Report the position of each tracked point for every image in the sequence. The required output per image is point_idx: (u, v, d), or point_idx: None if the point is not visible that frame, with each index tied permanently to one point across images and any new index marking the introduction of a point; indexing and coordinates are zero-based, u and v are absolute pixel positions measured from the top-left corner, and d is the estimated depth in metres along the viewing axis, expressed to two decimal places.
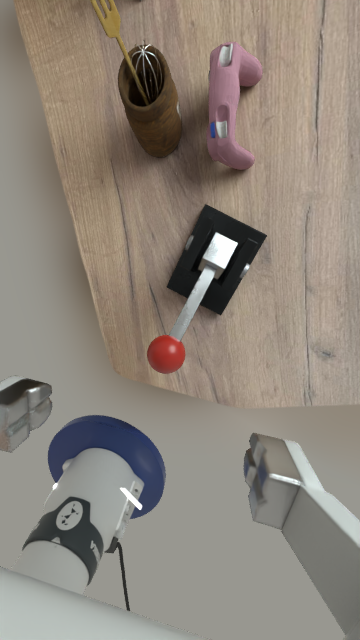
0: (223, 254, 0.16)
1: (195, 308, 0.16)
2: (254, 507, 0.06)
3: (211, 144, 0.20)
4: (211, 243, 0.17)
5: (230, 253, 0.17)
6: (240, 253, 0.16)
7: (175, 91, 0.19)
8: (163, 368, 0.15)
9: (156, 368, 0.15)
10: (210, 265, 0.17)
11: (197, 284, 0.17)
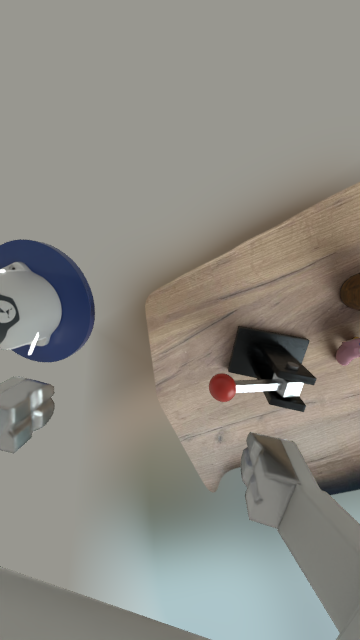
0: (291, 392, 0.25)
1: (255, 391, 0.24)
2: (250, 506, 0.06)
3: (354, 343, 0.29)
4: (297, 383, 0.25)
5: (292, 395, 0.25)
6: (295, 404, 0.25)
7: None
8: (218, 396, 0.21)
9: (216, 391, 0.21)
10: (282, 386, 0.25)
11: (269, 384, 0.24)
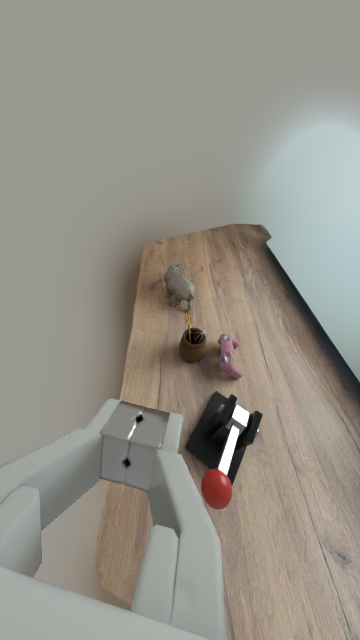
0: (243, 417, 0.28)
1: (232, 451, 0.23)
2: None
3: (222, 364, 0.40)
4: (235, 410, 0.28)
5: (247, 418, 0.28)
6: (254, 418, 0.27)
7: (205, 342, 0.43)
8: (220, 496, 0.18)
9: (213, 496, 0.19)
10: (236, 423, 0.27)
11: (230, 434, 0.25)
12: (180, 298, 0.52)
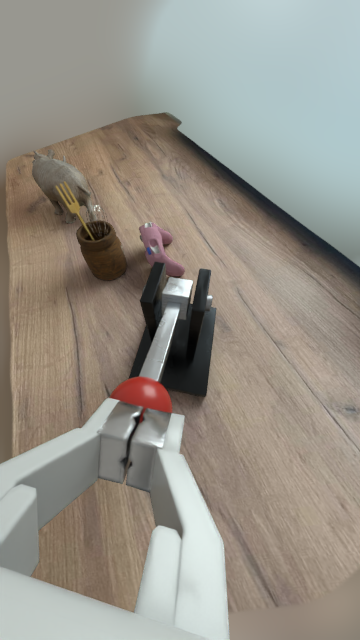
0: (182, 288, 0.16)
1: (168, 339, 0.12)
2: None
3: (150, 258, 0.27)
4: (167, 283, 0.16)
5: (189, 287, 0.16)
6: (198, 279, 0.16)
7: (118, 239, 0.29)
8: None
9: None
10: (172, 300, 0.15)
11: (163, 317, 0.14)
12: None
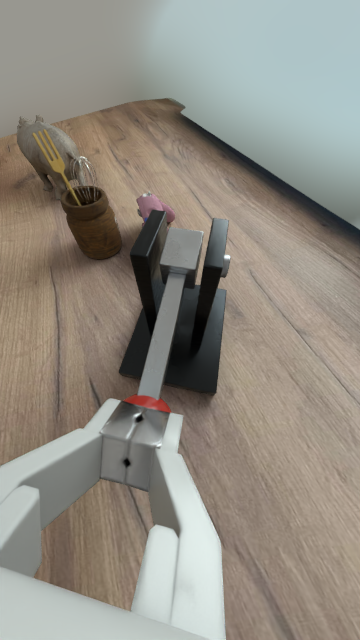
0: (187, 250, 0.11)
1: (169, 338, 0.10)
2: None
3: None
4: (167, 242, 0.11)
5: (197, 247, 0.11)
6: (212, 230, 0.11)
7: (112, 210, 0.24)
8: None
9: None
10: (174, 271, 0.11)
11: (163, 302, 0.11)
12: None
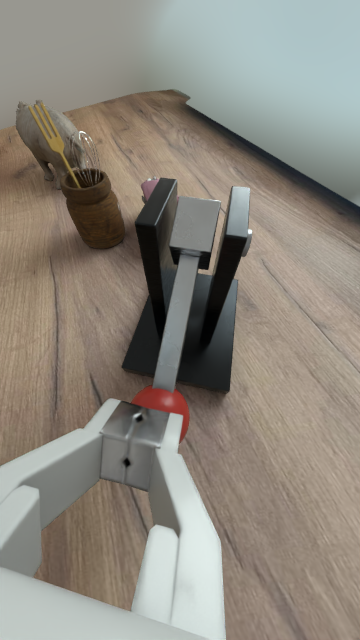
0: (201, 227, 0.10)
1: (182, 331, 0.10)
2: None
3: None
4: (177, 217, 0.10)
5: (213, 222, 0.10)
6: (231, 198, 0.10)
7: (115, 195, 0.23)
8: None
9: None
10: (187, 253, 0.10)
11: (175, 291, 0.10)
12: (56, 155, 0.28)
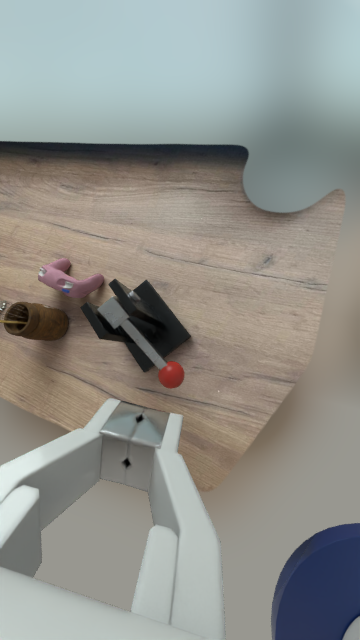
0: (117, 312, 0.21)
1: (149, 346, 0.22)
2: None
3: (72, 294, 0.30)
4: (105, 317, 0.21)
5: (118, 306, 0.20)
6: (114, 292, 0.20)
7: (37, 304, 0.31)
8: (179, 383, 0.22)
9: (177, 386, 0.23)
10: (122, 322, 0.21)
11: (132, 337, 0.22)
12: None
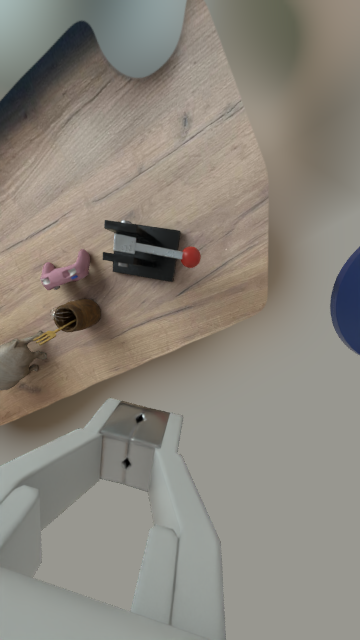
0: (126, 241, 0.26)
1: (163, 248, 0.28)
2: None
3: (80, 276, 0.35)
4: (122, 251, 0.26)
5: (124, 236, 0.25)
6: (113, 228, 0.25)
7: (66, 303, 0.36)
8: (199, 256, 0.29)
9: None
10: (135, 247, 0.27)
11: (149, 252, 0.28)
12: (28, 354, 0.40)
